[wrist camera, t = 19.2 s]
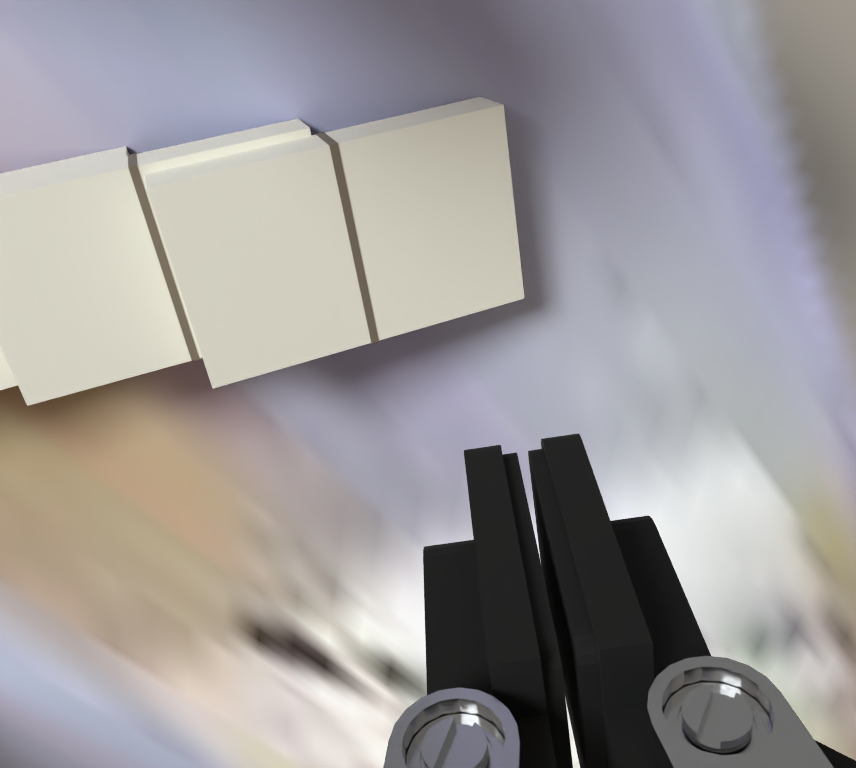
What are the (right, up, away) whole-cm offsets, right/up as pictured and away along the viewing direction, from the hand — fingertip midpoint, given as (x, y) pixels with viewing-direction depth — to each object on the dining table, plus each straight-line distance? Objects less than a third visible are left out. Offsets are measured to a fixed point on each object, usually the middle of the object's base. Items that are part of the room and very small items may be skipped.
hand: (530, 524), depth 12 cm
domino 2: (+1, +8, +13) cm, 16 cm away
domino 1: (-5, +7, +14) cm, 16 cm away
